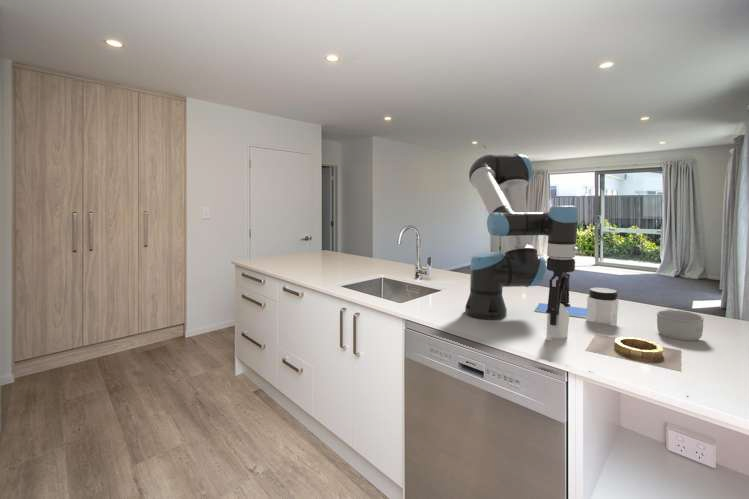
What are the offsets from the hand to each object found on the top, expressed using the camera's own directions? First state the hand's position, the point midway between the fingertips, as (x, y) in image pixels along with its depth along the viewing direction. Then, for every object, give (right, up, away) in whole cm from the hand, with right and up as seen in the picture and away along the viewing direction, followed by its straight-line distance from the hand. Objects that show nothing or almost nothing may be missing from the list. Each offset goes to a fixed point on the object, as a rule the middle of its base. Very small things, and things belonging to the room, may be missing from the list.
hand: (557, 330), depth 110 cm
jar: (+22, -1, +14) cm, 26 cm away
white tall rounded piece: (0, -3, 0) cm, 3 cm away
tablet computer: (+18, 0, +30) cm, 35 cm away
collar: (+15, -3, -13) cm, 20 cm away
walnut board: (+15, -4, -12) cm, 19 cm away
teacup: (+37, -3, 0) cm, 37 cm away
